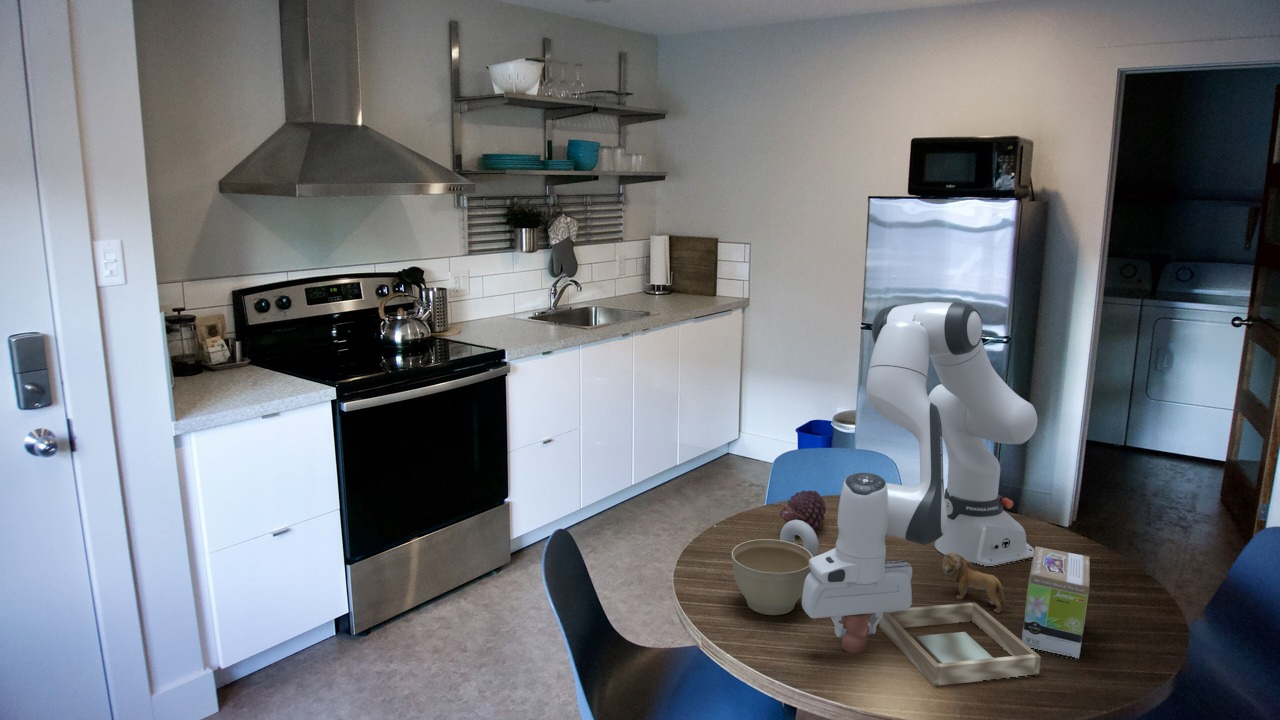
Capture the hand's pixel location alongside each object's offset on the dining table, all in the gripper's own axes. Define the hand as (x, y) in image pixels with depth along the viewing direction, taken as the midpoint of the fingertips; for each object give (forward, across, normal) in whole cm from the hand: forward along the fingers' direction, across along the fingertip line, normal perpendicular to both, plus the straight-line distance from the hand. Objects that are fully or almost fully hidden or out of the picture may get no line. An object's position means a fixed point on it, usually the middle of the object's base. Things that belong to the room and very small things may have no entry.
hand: (854, 633), depth 154 cm
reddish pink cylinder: (+3, 0, 0) cm, 3 cm away
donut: (+3, -3, -36) cm, 36 cm away
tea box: (+3, -39, +2) cm, 39 cm away
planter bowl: (+3, +10, -18) cm, 21 cm away
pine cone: (+3, -12, -54) cm, 55 cm away
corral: (+3, -18, +4) cm, 19 cm away
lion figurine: (+3, -32, -13) cm, 35 cm away
